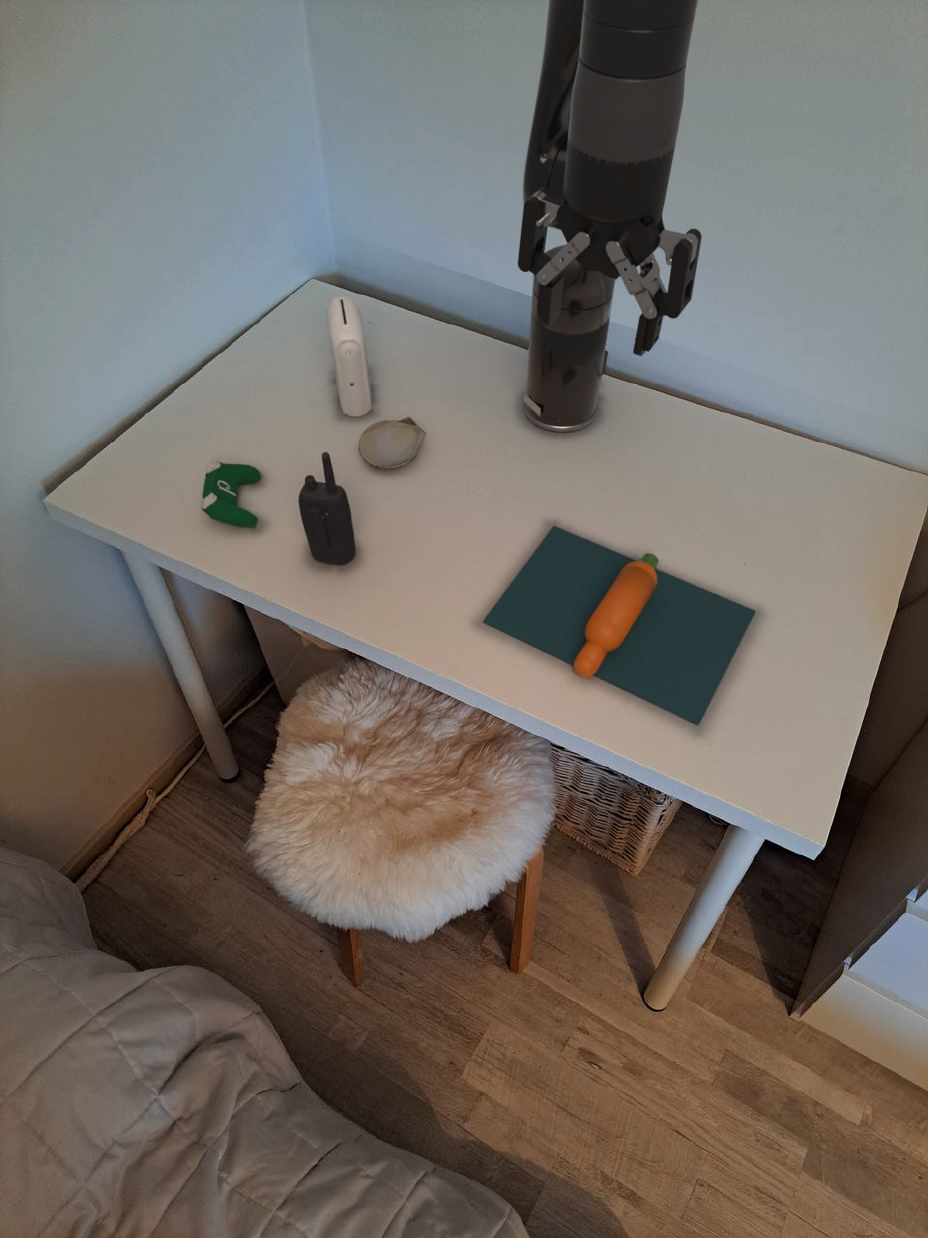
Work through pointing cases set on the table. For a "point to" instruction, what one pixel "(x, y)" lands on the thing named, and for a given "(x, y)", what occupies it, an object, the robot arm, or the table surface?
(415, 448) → the seashell
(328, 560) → the two-way radio
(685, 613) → the cloth
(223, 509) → the gaming controller
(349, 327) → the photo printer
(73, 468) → the table surface
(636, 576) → the carrot
